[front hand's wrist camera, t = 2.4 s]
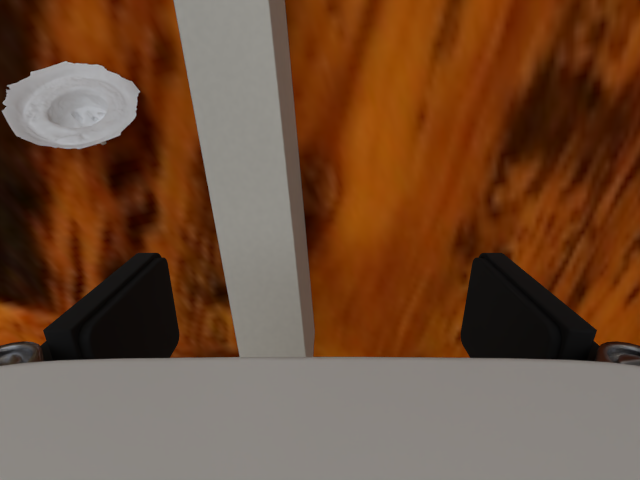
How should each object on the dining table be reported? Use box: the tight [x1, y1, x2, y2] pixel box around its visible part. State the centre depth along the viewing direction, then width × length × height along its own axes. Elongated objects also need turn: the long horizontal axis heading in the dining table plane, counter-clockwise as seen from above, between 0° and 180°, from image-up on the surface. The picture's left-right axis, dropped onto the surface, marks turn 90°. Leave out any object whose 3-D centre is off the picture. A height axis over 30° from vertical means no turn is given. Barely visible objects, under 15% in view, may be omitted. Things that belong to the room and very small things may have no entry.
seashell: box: [2, 61, 140, 149], centre depth 26 cm, size 8×5×8 cm
